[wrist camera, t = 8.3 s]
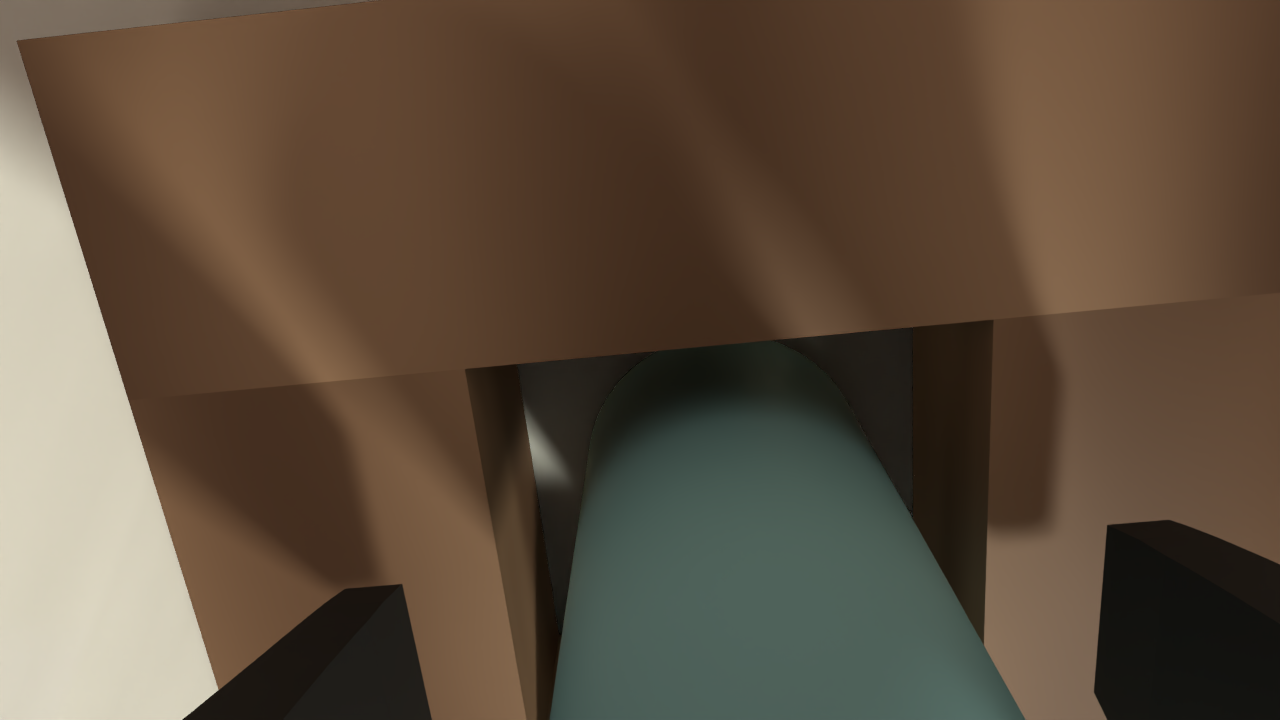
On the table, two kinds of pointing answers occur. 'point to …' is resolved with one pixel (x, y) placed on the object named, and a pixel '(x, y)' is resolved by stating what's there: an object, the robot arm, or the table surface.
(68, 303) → the table surface
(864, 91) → the socket
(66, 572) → the table surface
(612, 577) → the peg
